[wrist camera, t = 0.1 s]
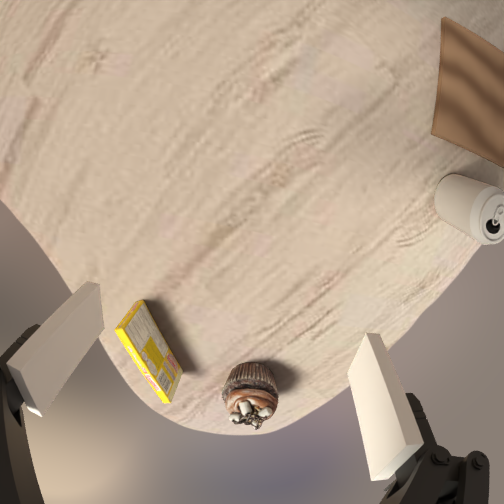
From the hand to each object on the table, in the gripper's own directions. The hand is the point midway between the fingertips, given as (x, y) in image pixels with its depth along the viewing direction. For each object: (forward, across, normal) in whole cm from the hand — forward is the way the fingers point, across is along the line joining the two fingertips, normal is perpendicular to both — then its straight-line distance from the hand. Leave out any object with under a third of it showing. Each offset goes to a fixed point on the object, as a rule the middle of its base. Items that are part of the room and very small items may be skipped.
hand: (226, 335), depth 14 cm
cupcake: (+28, +4, -31) cm, 42 cm away
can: (+28, +28, +7) cm, 41 cm away
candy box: (+28, -12, -26) cm, 40 cm away
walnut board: (+28, +32, +25) cm, 50 cm away
